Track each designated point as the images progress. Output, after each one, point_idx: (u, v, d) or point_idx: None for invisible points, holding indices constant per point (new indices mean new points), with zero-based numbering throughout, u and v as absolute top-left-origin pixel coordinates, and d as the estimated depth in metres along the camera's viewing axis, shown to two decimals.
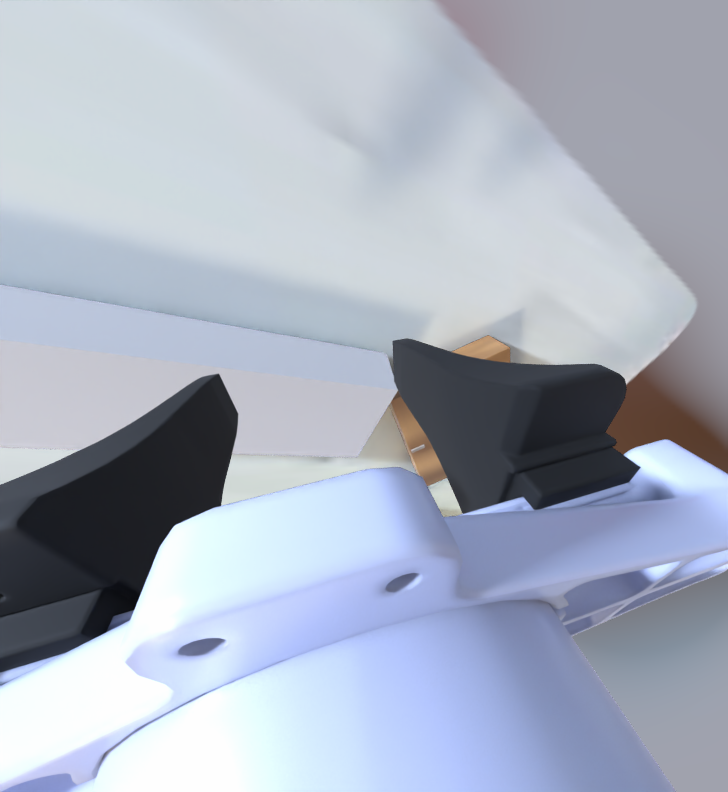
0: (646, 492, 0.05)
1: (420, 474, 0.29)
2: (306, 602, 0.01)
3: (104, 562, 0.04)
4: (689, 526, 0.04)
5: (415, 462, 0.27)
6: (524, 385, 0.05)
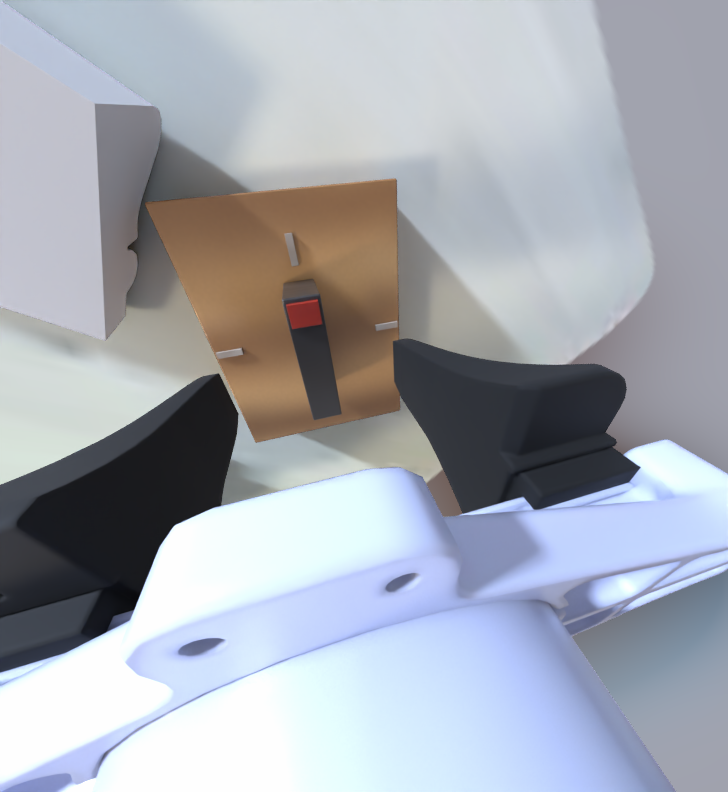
0: (646, 492, 0.05)
1: (244, 413, 0.17)
2: (306, 602, 0.01)
3: (104, 562, 0.04)
4: (688, 526, 0.04)
5: (230, 384, 0.16)
6: (524, 385, 0.05)
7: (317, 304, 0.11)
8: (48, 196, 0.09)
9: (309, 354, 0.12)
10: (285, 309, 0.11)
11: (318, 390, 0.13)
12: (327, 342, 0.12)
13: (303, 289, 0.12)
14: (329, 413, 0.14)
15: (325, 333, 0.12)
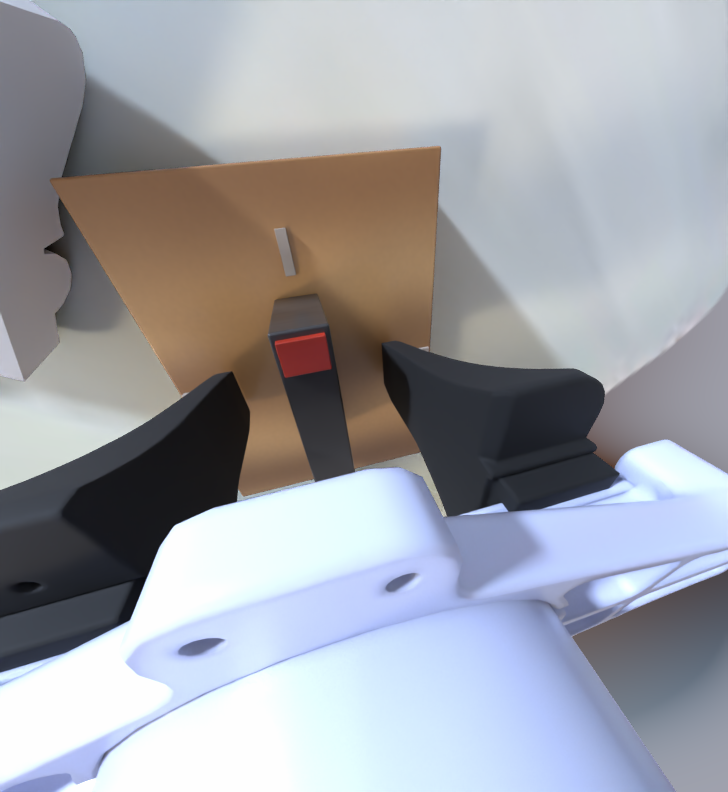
0: (646, 492, 0.05)
1: None
2: (306, 602, 0.01)
3: (137, 554, 0.04)
4: (689, 526, 0.04)
5: None
6: (499, 391, 0.05)
7: (324, 340, 0.07)
8: None
9: (312, 409, 0.08)
10: (273, 348, 0.07)
11: (323, 453, 0.09)
12: (338, 392, 0.08)
13: (302, 313, 0.08)
14: None
15: (336, 380, 0.08)
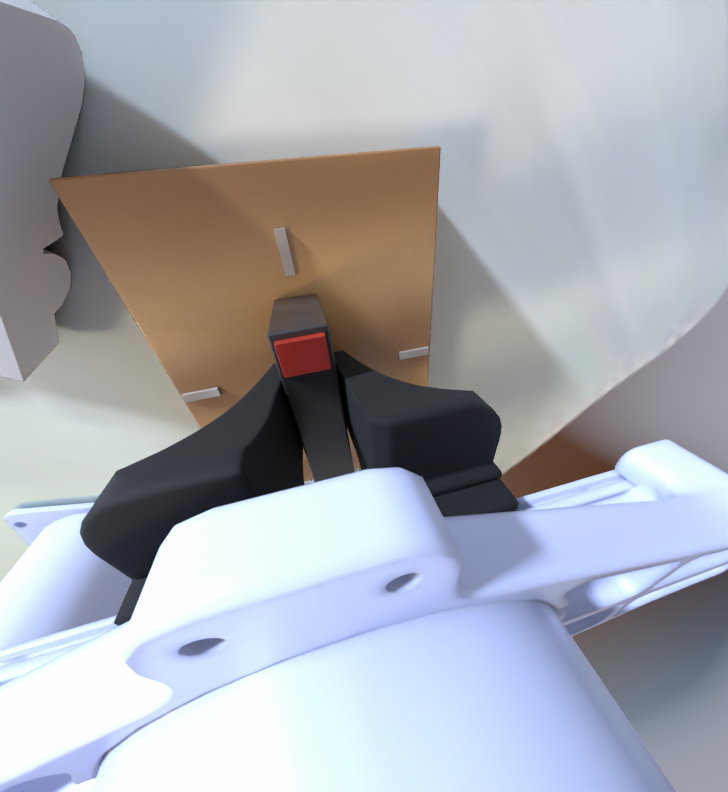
0: (646, 492, 0.05)
1: None
2: (306, 602, 0.01)
3: None
4: (689, 526, 0.04)
5: None
6: (376, 419, 0.04)
7: (324, 340, 0.07)
8: None
9: (311, 409, 0.08)
10: (273, 348, 0.07)
11: (323, 453, 0.09)
12: (338, 392, 0.08)
13: (302, 313, 0.08)
14: None
15: (335, 380, 0.08)
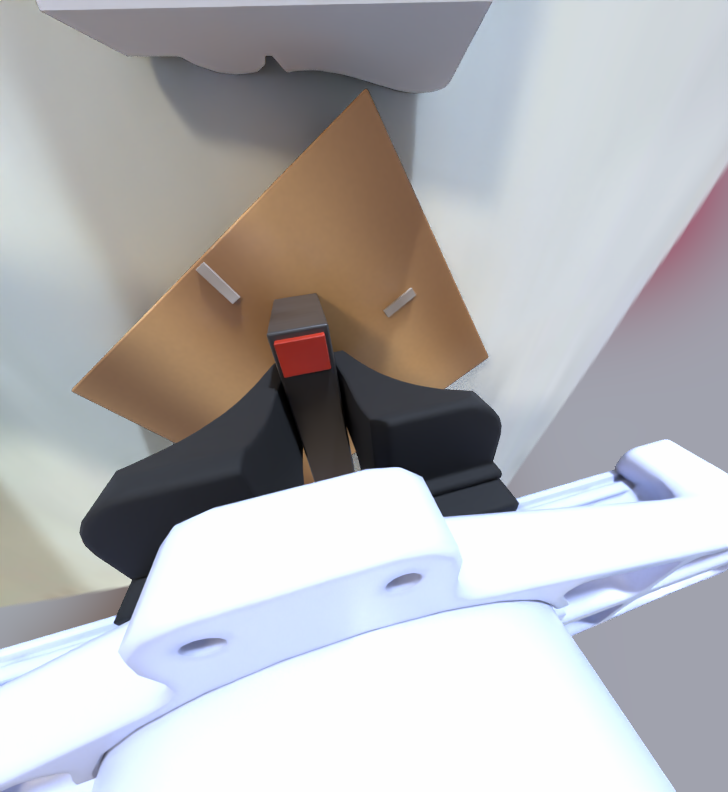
0: (646, 492, 0.05)
1: (119, 348, 0.09)
2: (306, 602, 0.01)
3: None
4: (688, 526, 0.04)
5: (160, 305, 0.09)
6: (376, 419, 0.04)
7: (323, 340, 0.07)
8: None
9: (311, 408, 0.08)
10: (272, 348, 0.07)
11: (323, 453, 0.09)
12: (338, 392, 0.08)
13: (301, 313, 0.08)
14: None
15: (335, 380, 0.08)
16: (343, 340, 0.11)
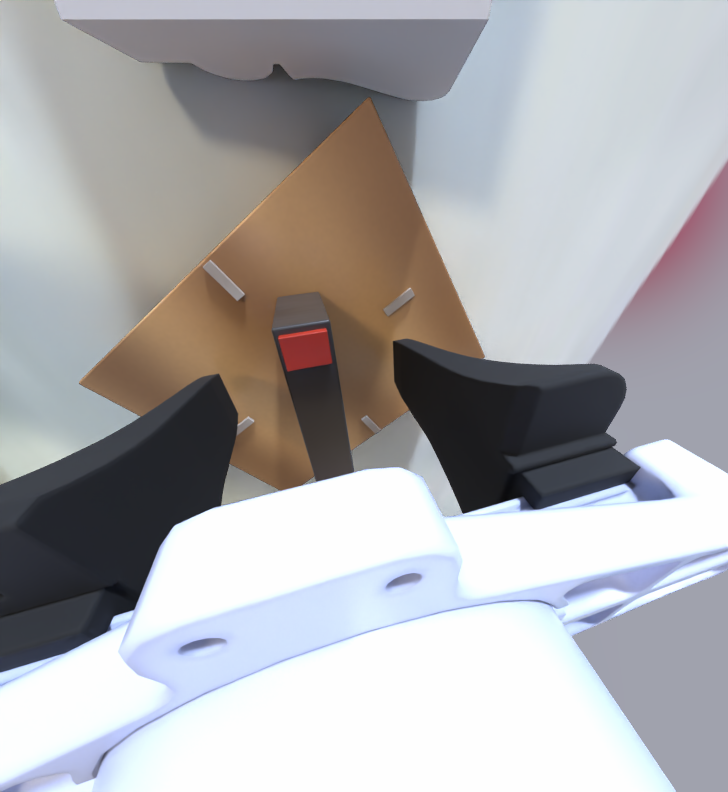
0: (646, 492, 0.05)
1: (126, 342, 0.10)
2: (306, 602, 0.01)
3: (104, 562, 0.04)
4: (689, 526, 0.04)
5: (167, 300, 0.09)
6: (524, 385, 0.05)
7: (326, 336, 0.07)
8: None
9: (312, 402, 0.08)
10: (277, 343, 0.07)
11: (323, 447, 0.10)
12: (338, 386, 0.08)
13: (304, 310, 0.08)
14: (337, 473, 0.11)
15: (336, 374, 0.08)
16: (344, 338, 0.11)
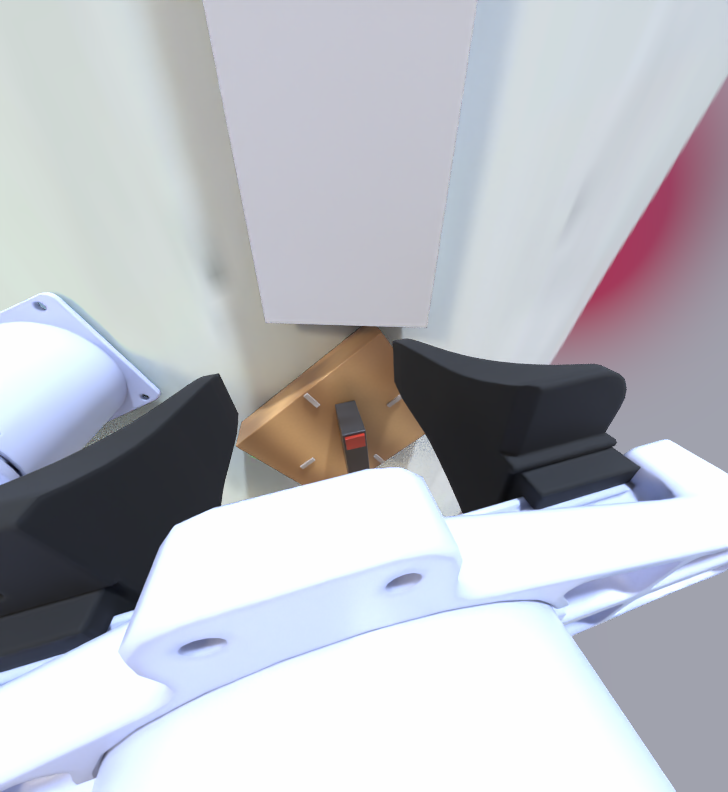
0: (646, 492, 0.05)
1: (262, 427, 0.20)
2: (306, 602, 0.01)
3: (104, 562, 0.04)
4: (689, 526, 0.04)
5: (284, 409, 0.19)
6: (524, 385, 0.05)
7: (364, 437, 0.17)
8: (368, 301, 0.15)
9: (355, 459, 0.18)
10: (343, 439, 0.17)
11: None
12: (367, 452, 0.18)
13: (352, 420, 0.18)
14: None
15: (366, 448, 0.18)
16: (366, 418, 0.21)
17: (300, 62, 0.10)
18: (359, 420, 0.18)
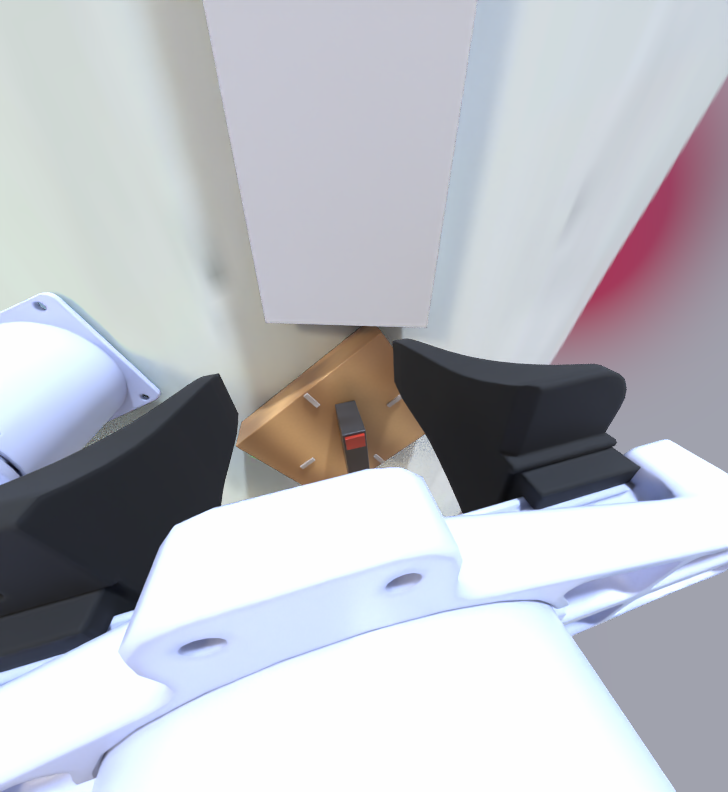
0: (646, 492, 0.05)
1: (262, 427, 0.20)
2: (306, 602, 0.01)
3: (104, 562, 0.04)
4: (689, 526, 0.04)
5: (284, 409, 0.19)
6: (524, 385, 0.05)
7: (364, 437, 0.17)
8: (368, 301, 0.15)
9: (355, 459, 0.18)
10: (343, 439, 0.17)
11: None
12: (367, 452, 0.18)
13: (352, 420, 0.18)
14: None
15: (366, 448, 0.18)
16: (366, 418, 0.21)
17: (300, 62, 0.10)
18: (359, 420, 0.18)
